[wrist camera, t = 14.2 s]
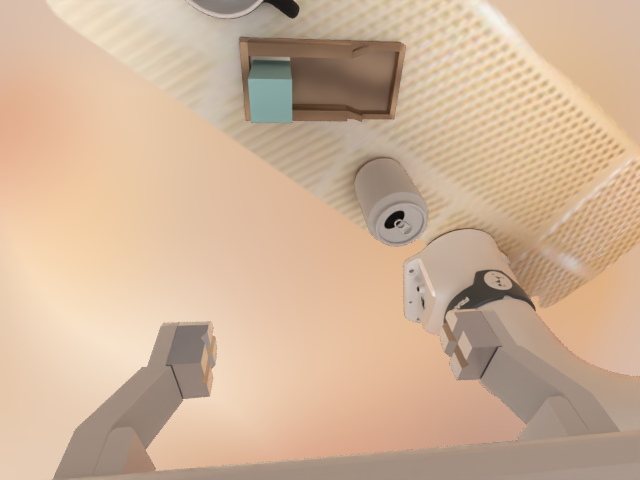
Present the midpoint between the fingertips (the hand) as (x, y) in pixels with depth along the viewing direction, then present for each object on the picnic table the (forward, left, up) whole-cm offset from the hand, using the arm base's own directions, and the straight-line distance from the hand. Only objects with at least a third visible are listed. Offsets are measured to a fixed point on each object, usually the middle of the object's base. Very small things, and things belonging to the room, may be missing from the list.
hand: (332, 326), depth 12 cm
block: (0, +3, -36) cm, 36 cm away
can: (-13, -12, -37) cm, 41 cm away
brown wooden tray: (0, -3, -37) cm, 37 cm away
